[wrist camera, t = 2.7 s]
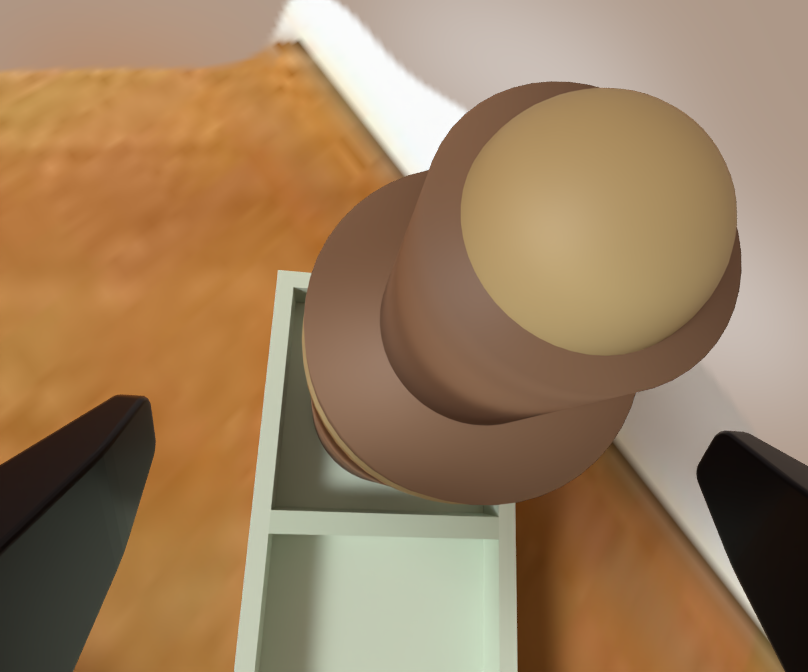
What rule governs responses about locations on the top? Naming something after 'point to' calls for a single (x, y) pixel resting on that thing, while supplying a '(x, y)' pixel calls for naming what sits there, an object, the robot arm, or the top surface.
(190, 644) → the top surface
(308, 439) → the caddy
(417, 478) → the pepper mill
